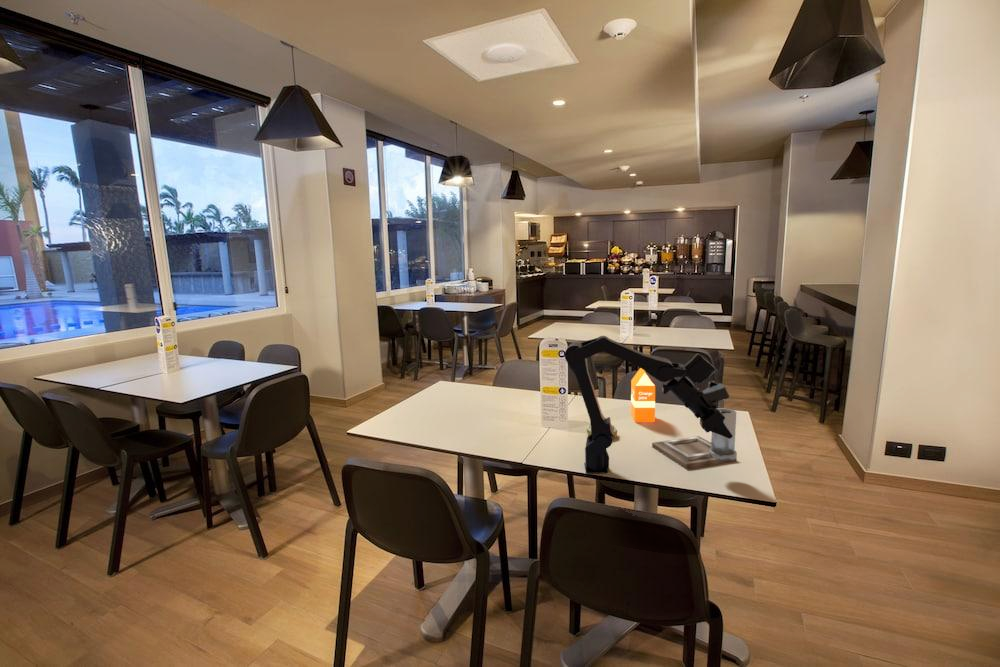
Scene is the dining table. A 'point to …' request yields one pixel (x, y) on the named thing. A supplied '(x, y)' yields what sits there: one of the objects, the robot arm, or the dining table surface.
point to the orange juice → (642, 398)
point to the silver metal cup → (724, 438)
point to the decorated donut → (591, 433)
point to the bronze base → (688, 452)
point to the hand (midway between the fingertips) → (728, 433)
